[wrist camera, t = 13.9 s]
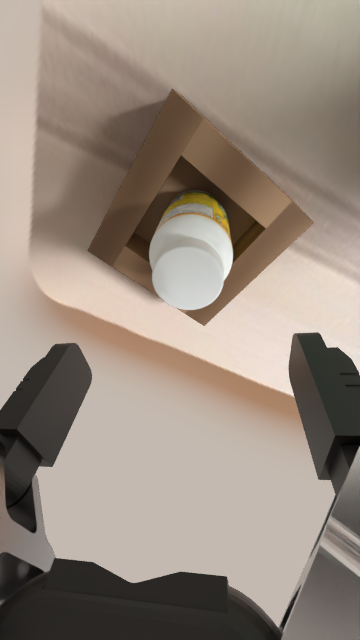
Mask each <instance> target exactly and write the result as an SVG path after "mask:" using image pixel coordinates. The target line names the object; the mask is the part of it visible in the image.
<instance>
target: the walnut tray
mask: <svg viewBox="0 0 360 640" xmlns="http://www.w3.org/2000/svg"><path fill="white" fill-rule="evenodd" d="M191 190H200V191H205V192H208V193H210V194H212V195H213V196H215V197H216V198H217V199H218V200H219V202H220V203H221V204H222V206H223V208H224V209H225V211H226V214H227V218H228V223H229V229H230V236H231V242H232V248H233V262H232V266H231V269H230V272H229V274H228V276H227V277H226V279H225V280H224V284H223V288H222V290H221V292H220V294H219V296H218V297H217V298H216V299H215V300H214V301H213V302H212V303H211V304H209V305H208V306H206V307H203V308H200V309H196V310H182V309H179V310H180V311H182V312H183V313H185V314H186V315H188V316H189V317H191V318H193V319H194V320H196V321H197V322H199V323H200V324H202V325H203V326H205V325H206V324H207V323H208V322H209V321H210V320H211V319H212V318H213V317H214V316H215V315H216V314H217V313H218V312H220V311H221V310H222V309H223V308H224V307H225V306H226V305H227V304H228V303H229V302H230V301H231V300H232V299H233V298H234V297H235V296H237V295H238V294H239V293H240V292H241V291H242V290H243V289H244V288H245V287H246V286H247V285H248V284H249V283H250V282H251V281H252V280H254V279H255V278H256V277H257V276H258V275H259V274H260V273H261V272H262V271H263V270H264V269H265V268H266V267H267V266H268V265H269V264H271V263H272V262H273V261H274V260H275V259H276V258H277V257H278V256H279V255H280V254H281V253H282V252H283V251H284V250H285V249H286V248H288V247H289V246H290V245H291V244H292V243H293V242H294V241H295V240H296V239H297V238H298V237H299V236H300V235H301V234H302V233H303V232H305V231H306V230H307V229H308V228H309V227H310V226H311V225H312V224H313V223H314V222H313V221H312V220H311V219H310V218H309V217H308V216H307V215H306V214H305V213H304V212H303V211H302V210H301V209H300V208H299V207H298V206H297V204H296V203H295V202H294V201H293V200H291V199H290V198H289V197H288V196H287V195H286V194H285V193H284V192H283V191H282V190H281V189H280V188H279V187H278V186H277V185H276V184H275V183H274V182H272V181H271V180H270V179H269V178H268V177H267V176H266V175H265V174H264V173H263V172H262V171H261V170H260V169H259V168H258V167H257V166H256V165H255V164H253V163H252V162H251V161H250V160H249V159H248V158H247V157H246V156H245V155H244V154H243V153H242V152H241V151H240V150H239V149H238V148H237V147H236V146H234V145H233V144H232V143H231V142H230V141H229V140H228V139H227V138H226V137H225V136H224V135H223V134H222V133H221V132H220V131H219V130H218V129H217V128H216V127H214V126H213V125H212V124H211V123H210V122H209V121H208V120H207V119H206V118H205V117H204V116H203V115H202V114H201V113H200V112H199V111H198V110H197V109H195V108H194V107H193V106H192V105H191V104H190V103H189V102H188V101H187V100H186V99H185V98H184V97H183V96H182V95H180V94H179V93H178V92H176V91H175V90H173V89H172V90H171V92H170V94H169V96H168V98H167V100H166V101H165V103H164V105H163V107H162V109H161V111H160V113H159V115H158V117H157V119H156V121H155V123H154V124H153V126H152V128H151V130H150V132H149V134H148V136H147V138H146V140H145V142H144V144H143V145H142V147H141V149H140V151H139V153H138V155H137V157H136V159H135V161H134V163H133V165H132V166H131V168H130V170H129V172H128V174H127V176H126V178H125V180H124V182H123V184H122V186H121V187H120V189H119V191H118V193H117V195H116V197H115V199H114V201H113V203H112V205H111V207H110V208H109V210H108V212H107V214H106V216H105V218H104V220H103V222H102V224H101V226H100V228H99V229H98V231H97V233H96V235H95V237H94V239H93V241H92V243H91V245H90V247H89V249H88V251H89V252H90V253H92V254H93V255H95V256H97V257H98V258H100V259H101V260H103V261H104V262H106V263H107V264H109V265H110V266H112V267H114V268H115V269H117V270H118V271H120V272H121V273H123V274H124V275H126V276H127V277H129V278H131V279H132V280H134V281H135V282H137V283H138V284H140V285H141V286H143V287H145V288H146V289H148V290H149V291H151V292H152V293H154V294H155V295H157V296H158V294H157V293H156V291H155V289H154V286H153V282H152V268H151V265H150V260H149V249H150V244H151V241H152V238H153V236H154V234H155V231H156V229H157V227H158V225H159V223H160V221H161V219H162V216H163V214H164V212H165V210H166V208H167V206H168V205H169V203H170V202H171V201H172V200H173V199H174V198H175V197H176V196H178V195H180V194H181V193H184V192H187V191H191ZM158 297H159V296H158ZM177 309H178V308H177Z"/></svg>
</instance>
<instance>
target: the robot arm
mask: <svg viewBox="0 0 360 640" xmlns="http://www.w3.org/2000/svg"><path fill="white" fill-rule="evenodd" d="M289 377H290V382H291V386H292V389H293V393H294V396H295V400H296V403H297V407H298V410H299V413H300V417H301V420H302V424H303V427H304V431H305V434H306V438H307V441H308V444H309V448H310V452H311V455H312V458H313V462H314V465H315V469H316V472H317V476H318V479H320V480H331V482H332V485H333V488H334V491H335V494H336V495H335V497H334V499H333V501H332V504H331V506H330V508H329V511H328V513H327V516H326V518H325V520H324V523H323V525H322V527H321V530H320V532H319V534H318V537H317V539H316V542H315V544H314V546H313V549H312V551H311V553H310V556H309V558H308V560H307V563H306V565H305V567H304V569H303V571H302V573H301V576H300V578H299V580H298V583H297V585H296V587H295V589H294V592H293V594H292V597H291V599H290V601H289V604H288V606H287V609H286V611H285V613H284V616H283V618H282V620H281V622H280V625H279V627H277V626H276V625H275V623H274V622H273V621H272V620H271V619H270V617H269V616H268V615H267V614H266V613H265V612H264V611H263V610H262V609H261V608H260V607H259V606H258V605H257V604H256V603H255V602H254V601H252V600H251V599H250V598H249V597H247V596H246V595H244V594H243V593H241V592H240V591H238V590H236V589H234V588H232V587H230V586H229V585H228V580H227V577H225V576H216V575H206V574H197V573H188V572H178V573H174V574H170V575H166V576H162V577H158V578H154V579H150V580H146V581H143V582H138V583H130V582H128V581H126V580H124V579H122V578H121V577H119V576H117V575H115V574H113V573H111V572H110V571H108V570H106V569H104V568H103V567H101V566H99V565H97V564H95V563H93V562H85V561H77V560H67V559H58V558H56V557H55V554H54V551H53V549H52V547H51V545H50V543H49V542H48V540H47V537H46V534H45V529H44V521H43V514H42V506H41V500H40V492H39V485H38V479H37V476H36V475H35V473H36V471H37V469H38V467H39V466H44V467H46V466H47V467H52V466H53V465H54V462H55V460H56V458H57V456H58V454H59V451H60V449H61V447H62V445H63V443H64V441H65V439H66V437H67V434H68V432H69V430H70V428H71V426H72V423H73V421H74V419H75V417H76V415H77V413H78V410H79V408H80V406H81V404H82V402H83V400H84V398H85V395H86V393H87V391H88V389H89V387H90V384H91V380H92V373H91V369H90V367H89V365H88V363H87V361H86V359H85V357H84V355H83V353H82V351H81V349H80V348H79V346H78V345H77V344H76V343H66V344H55V345H54V346H53V347H52V348H51V349H50V351H49V352H48V354H47V355H46V357H44V358H42V359H41V360H40V361H39V362H37V363H36V364H35V365H34V366H33V367H32V368H31V369H30V370H29V371H28V373H27V374H26V376H25V377H24V378H23V381H21V382H20V384H19V385H18V387H17V388H16V391H14V392H13V393H12V395H11V396H10V398H9V399H8V401H7V402H6V403H5V405H4V406H3V407H2V409H1V410H0V640H360V376H359V372H358V370H357V368H356V366H355V365H354V363H353V361H352V359H351V358H349V357H348V356H347V355H346V354H345V353H344V352H342V351H341V350H340V349H339V348H338V347H337V348H327V347H326V345H325V343H324V341H323V339H322V337H321V335H320V334H319V333H296V334H294V335H293V338H292V345H291V353H290V360H289Z"/></svg>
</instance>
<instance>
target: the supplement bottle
mask: <svg viewBox="0 0 360 640" xmlns="http://www.w3.org/2000/svg"><path fill="white" fill-rule="evenodd" d="M149 260H150V265H151V268H152V282H153V286H154V289H155V291H156V293H157V294H158V296H159V297H160V298H161V299H162V300H163V301H164V302H166V303H167V304H169V305H171V306H173V307H175V308H178V309H182V310H196V309H200V308H203V307H206V306H208V305H209V304H211V303H212V302H213V301H214V300H215V299H216V298H217V297H218V296H219V294H220V292H221V290H222V288H223V284H224V280H225V279H226V277H227V276H228V274H229V272H230V269H231V266H232V262H233V248H232V242H231V236H230V229H229V223H228V218H227V214H226V211H225V209H224V208H223V206H222V204H221V203H220V202H219V200H218V199H217V198H216V197H215V196H213V195H212V194H210V193H208V192H205V191H200V190H191V191H187V192H184V193H181V194H180V195H178V196H176V197H175V198H174V199H173V200H172V201H171V202H170V203H169V205H168V206H167V208H166V210H165V212H164V214H163V216H162V219H161V221H160V223H159V225H158V227H157V229H156V231H155V234H154V236H153V238H152V241H151V244H150V249H149Z"/></svg>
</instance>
